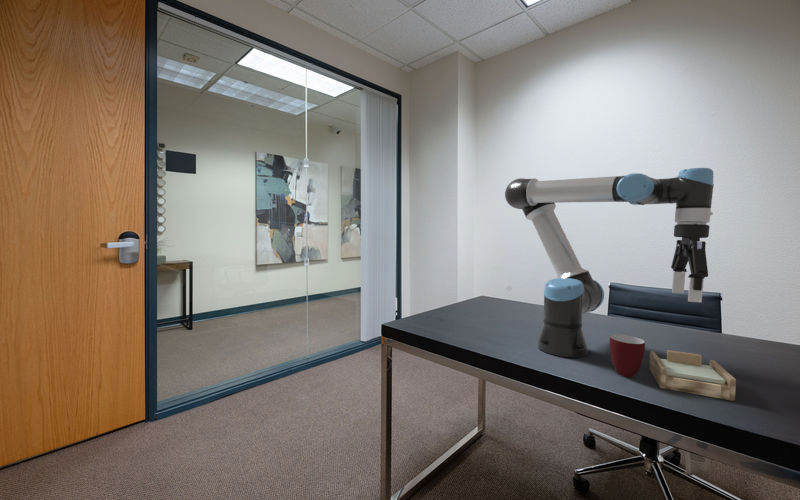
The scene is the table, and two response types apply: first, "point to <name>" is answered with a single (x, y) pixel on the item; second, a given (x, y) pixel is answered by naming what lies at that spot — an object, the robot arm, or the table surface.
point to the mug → (626, 354)
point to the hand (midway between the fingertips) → (685, 297)
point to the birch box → (694, 381)
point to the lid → (690, 367)
